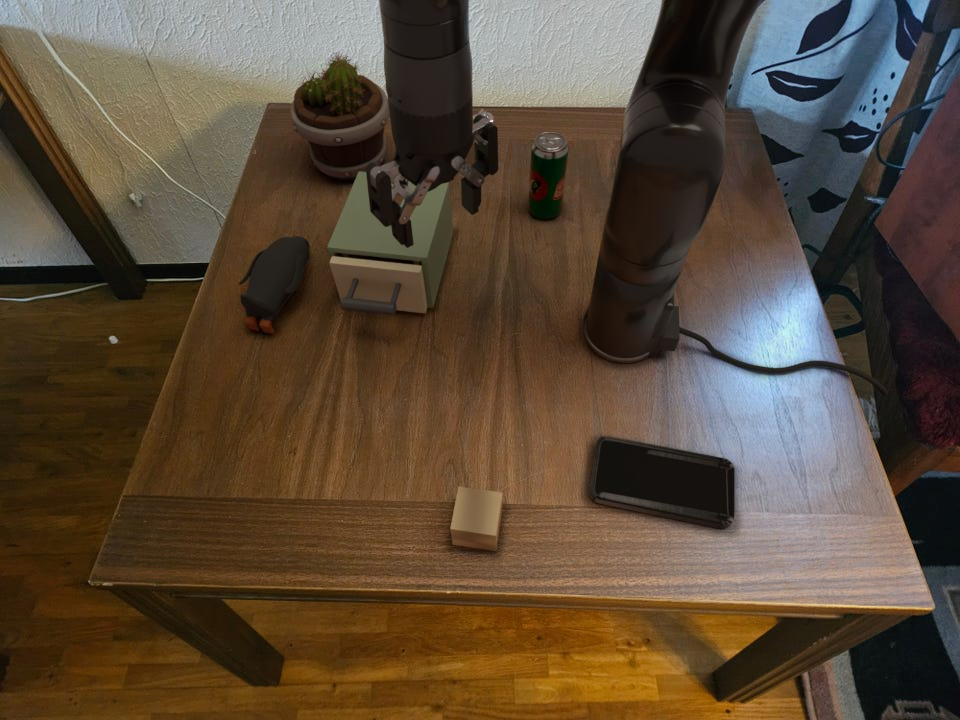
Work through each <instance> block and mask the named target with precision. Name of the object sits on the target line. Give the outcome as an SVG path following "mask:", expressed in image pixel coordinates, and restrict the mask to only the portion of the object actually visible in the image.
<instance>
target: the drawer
mask: <svg viewBox="0 0 960 720" xmlns="http://www.w3.org/2000/svg"><path fill="white" fill-rule="evenodd" d="M342 256H343V257H336V256H332V257H331V258H330V260H329V263H328V264H329V267H330V270H331V273H332V276H333V277H332V278H333V280H334V284H335V286H336V289H337V293H338V296H339V300H340V302H341V303H340V305H341V306H340V307H341V310H343V311H353V312H361V313H371V314H379V315H388V316H395V315H396V313H397V311H401V312H408V313H417V314H426V313H427V311H428V308H427V300H426V293H425V284H424V277H423V269H422V262H421V261H411V260H402V259H393V258H383V257H374V256H364V255H355V254H345V253H342Z"/></svg>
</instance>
